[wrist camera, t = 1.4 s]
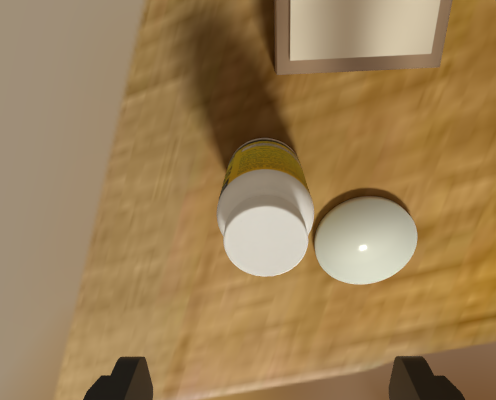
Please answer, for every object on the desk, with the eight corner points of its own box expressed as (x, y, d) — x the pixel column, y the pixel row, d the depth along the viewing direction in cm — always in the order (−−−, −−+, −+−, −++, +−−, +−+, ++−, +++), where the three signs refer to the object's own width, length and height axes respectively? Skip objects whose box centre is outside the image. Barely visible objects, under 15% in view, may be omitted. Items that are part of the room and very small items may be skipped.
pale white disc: (421, 194, 28) (425, 198, 27) (405, 278, 32) (408, 283, 31) (316, 197, 28) (317, 201, 28) (312, 279, 32) (313, 284, 32)
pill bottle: (221, 142, 27) (196, 199, 17) (296, 130, 26) (317, 182, 16) (235, 209, 29) (221, 293, 19) (304, 199, 29) (326, 281, 19)
